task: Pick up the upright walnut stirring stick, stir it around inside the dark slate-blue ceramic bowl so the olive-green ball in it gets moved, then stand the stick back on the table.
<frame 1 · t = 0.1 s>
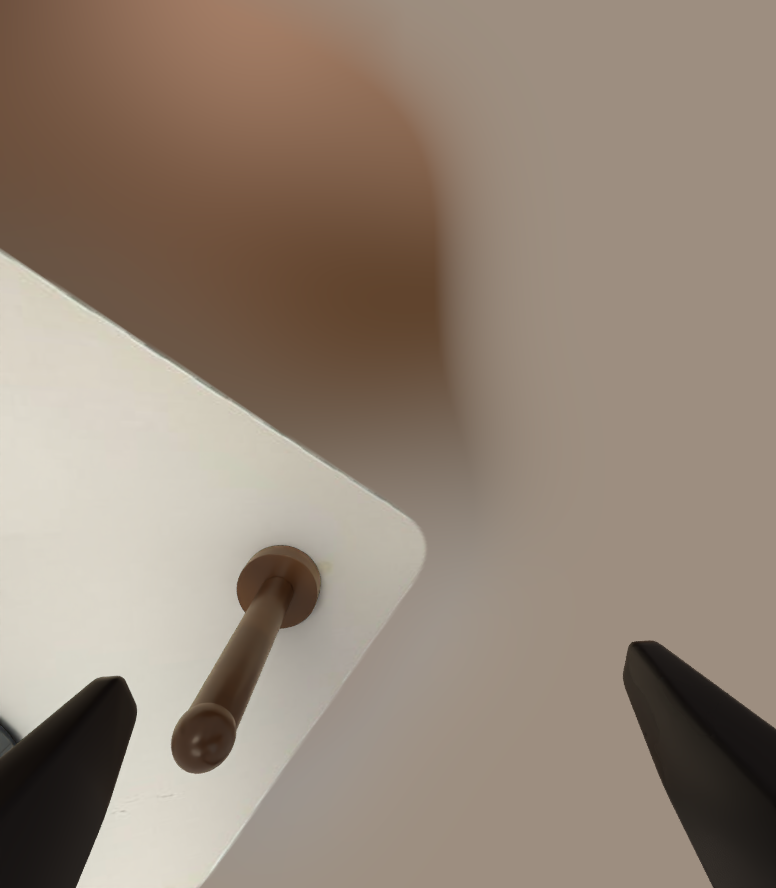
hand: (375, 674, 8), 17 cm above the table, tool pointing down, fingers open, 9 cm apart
stirring stick: (282, 581, 26), on the table
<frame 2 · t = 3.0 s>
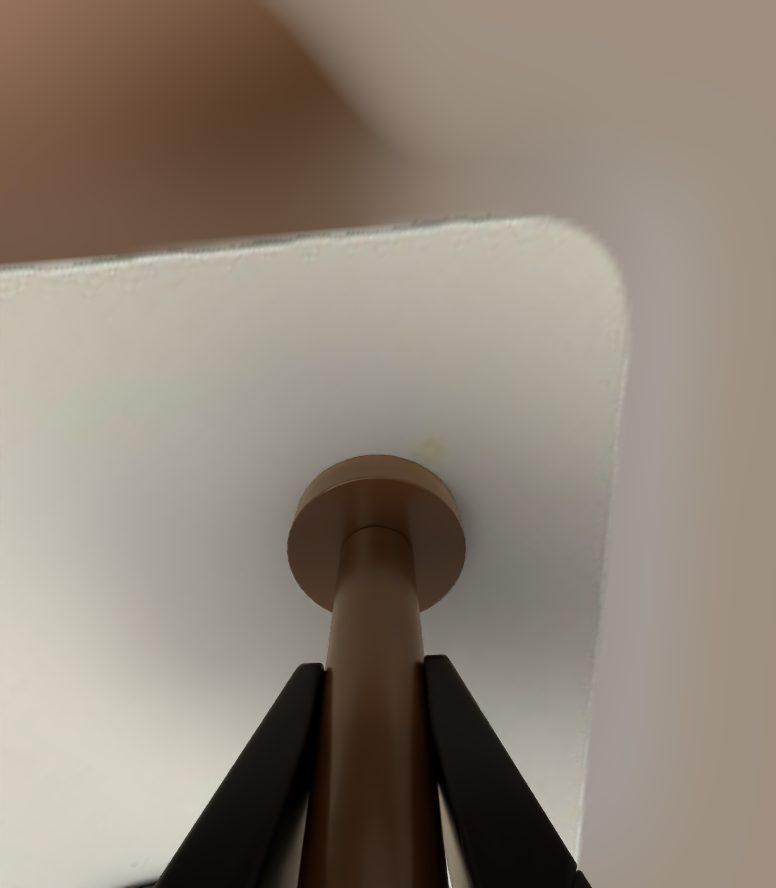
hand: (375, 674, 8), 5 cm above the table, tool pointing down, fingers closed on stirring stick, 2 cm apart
stirring stick: (377, 527, 12), on the table, touching gripper
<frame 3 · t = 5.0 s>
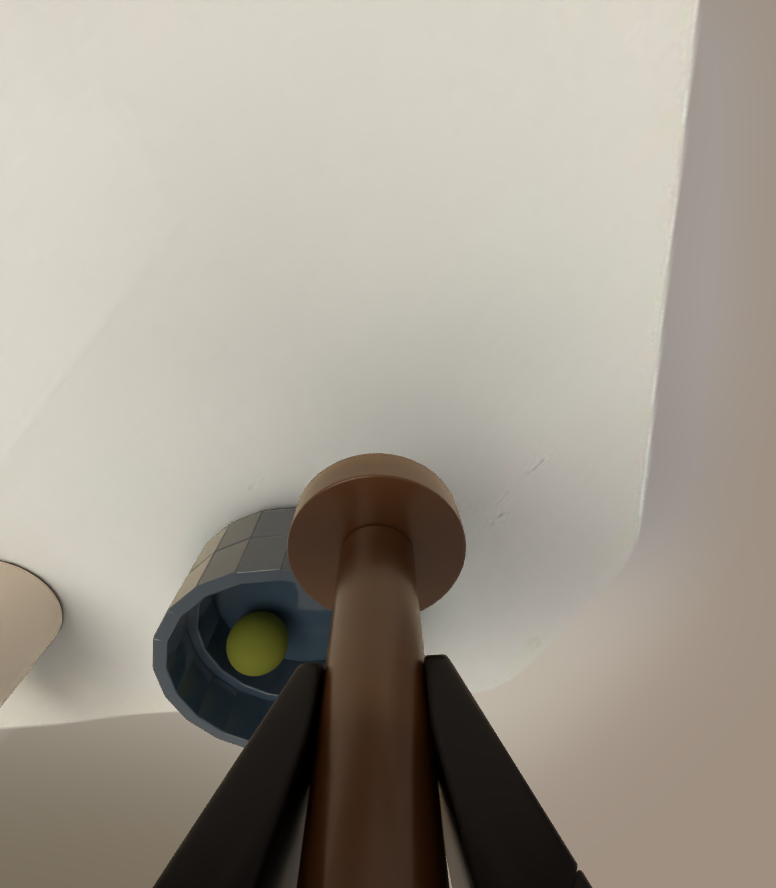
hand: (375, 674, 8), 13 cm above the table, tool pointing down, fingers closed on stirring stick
stirring stick: (377, 526, 12), point 9 cm above the table, touching gripper
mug: (12, 623, 25), on the table
bowl: (303, 591, 24), on the table
olive ball: (258, 642, 23), point 2 cm above the table, touching bowl
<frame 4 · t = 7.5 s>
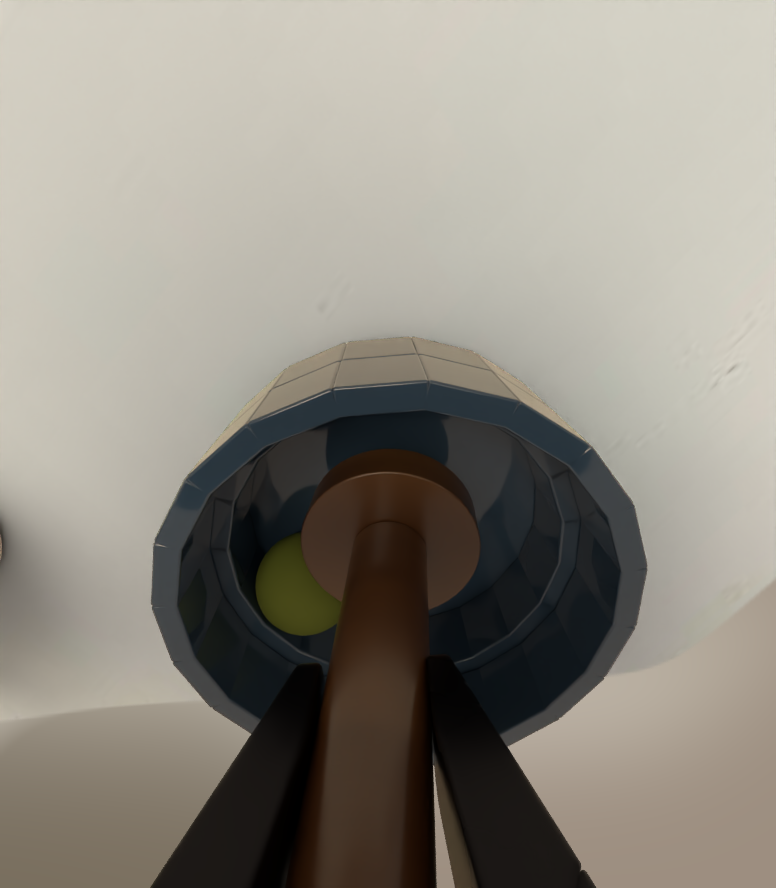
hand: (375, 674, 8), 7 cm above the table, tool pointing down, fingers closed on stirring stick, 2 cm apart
stirring stick: (391, 521, 12), point 3 cm above the table, tilted 5°, touching gripper, olive ball
bowl: (393, 504, 15), on the table
olive ball: (307, 581, 14), point 2 cm above the table, tilted 22°, touching bowl, stirring stick
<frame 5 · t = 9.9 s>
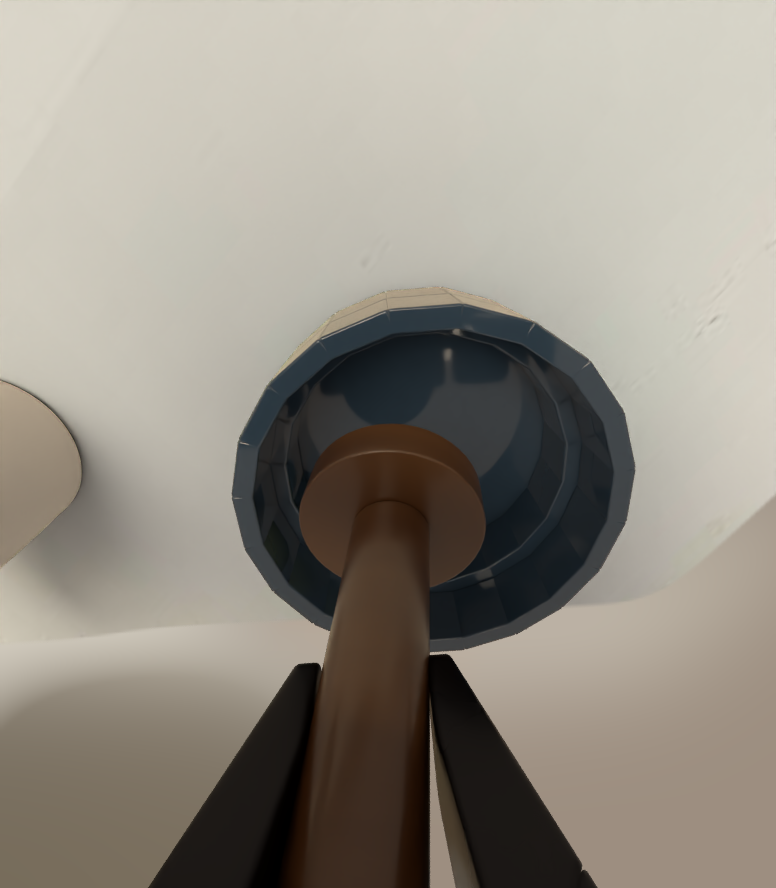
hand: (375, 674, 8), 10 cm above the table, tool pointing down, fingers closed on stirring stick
stirring stick: (394, 497, 12), point 6 cm above the table, tilted 9°, touching gripper
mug: (10, 486, 18), on the table
bowl: (419, 439, 17), on the table
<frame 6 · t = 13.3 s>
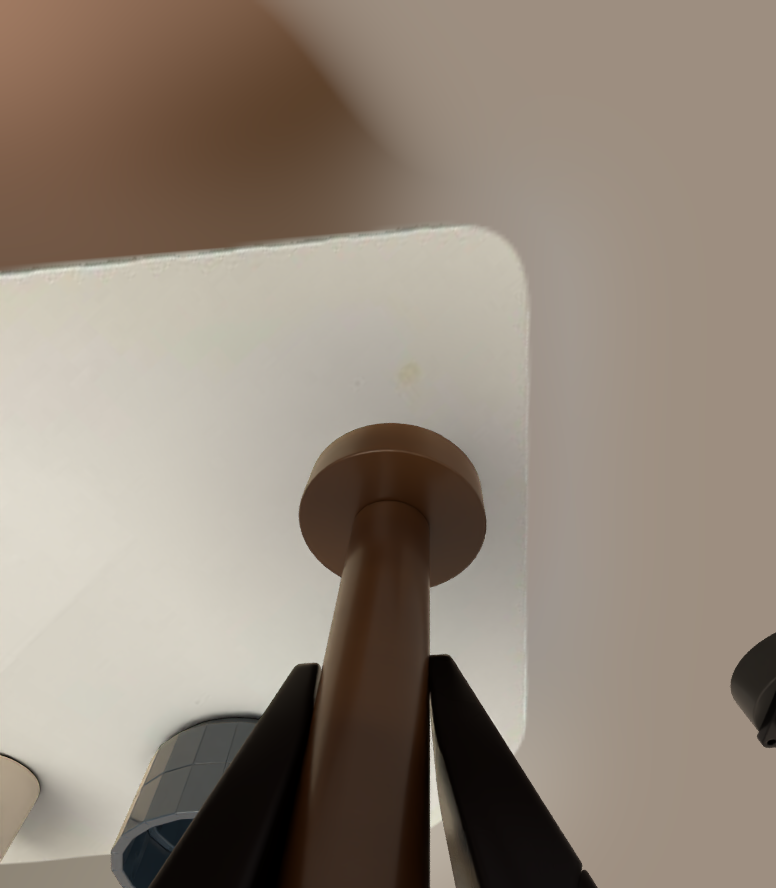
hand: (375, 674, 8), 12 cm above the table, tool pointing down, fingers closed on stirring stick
stirring stick: (394, 497, 12), point 8 cm above the table, tilted 9°, touching gripper
bowl: (246, 770, 28), on the table
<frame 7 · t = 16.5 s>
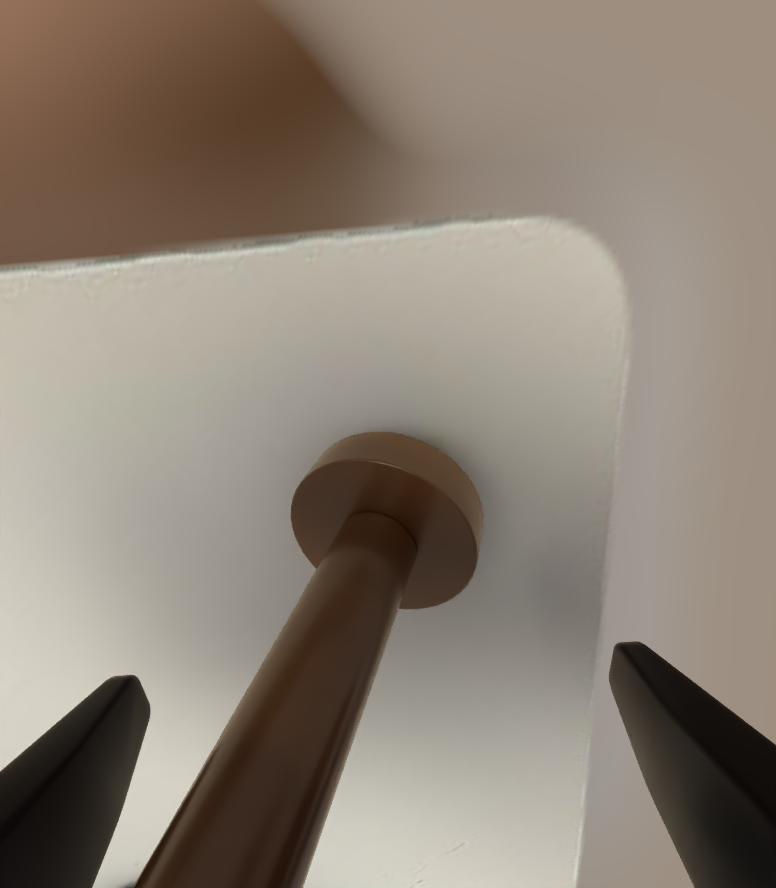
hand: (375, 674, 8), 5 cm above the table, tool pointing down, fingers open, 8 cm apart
stirring stick: (393, 508, 11), point 1 cm above the table, tilted 20°
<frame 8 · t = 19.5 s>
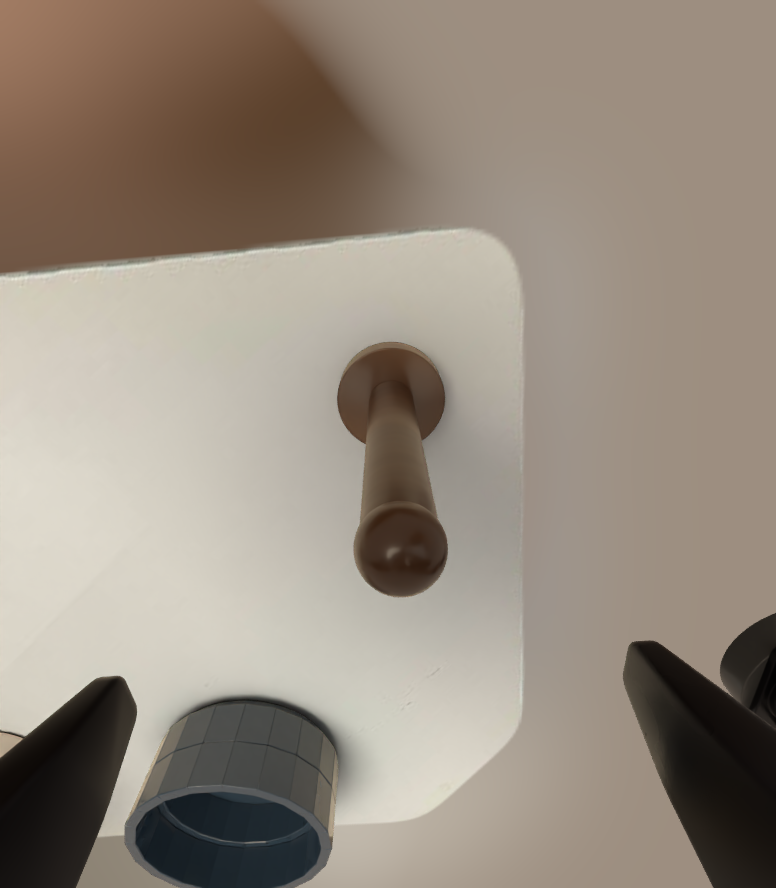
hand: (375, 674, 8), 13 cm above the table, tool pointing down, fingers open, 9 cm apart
stirring stick: (390, 392, 19), on the table
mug: (12, 772, 30), on the table
bowl: (252, 752, 29), on the table
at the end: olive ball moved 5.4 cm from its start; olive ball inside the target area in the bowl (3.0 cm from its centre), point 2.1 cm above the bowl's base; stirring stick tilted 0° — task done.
